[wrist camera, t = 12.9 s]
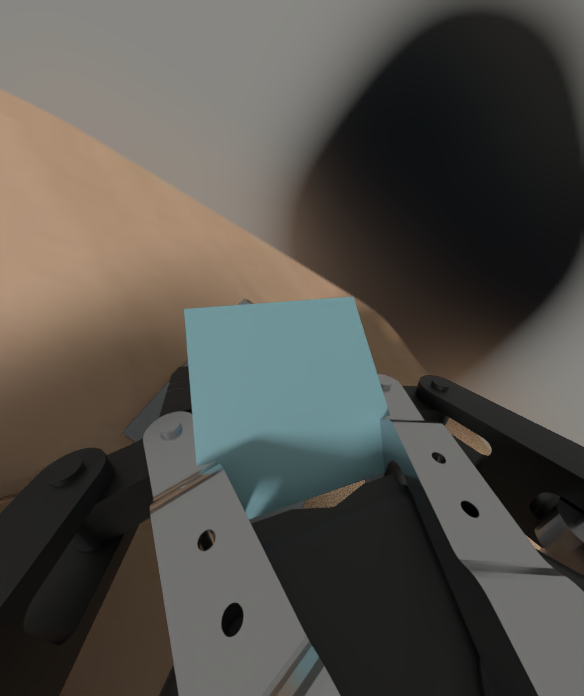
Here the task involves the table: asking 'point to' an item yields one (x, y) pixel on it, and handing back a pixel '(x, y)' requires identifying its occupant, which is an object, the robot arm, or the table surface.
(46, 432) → the table surface
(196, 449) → the teal block
